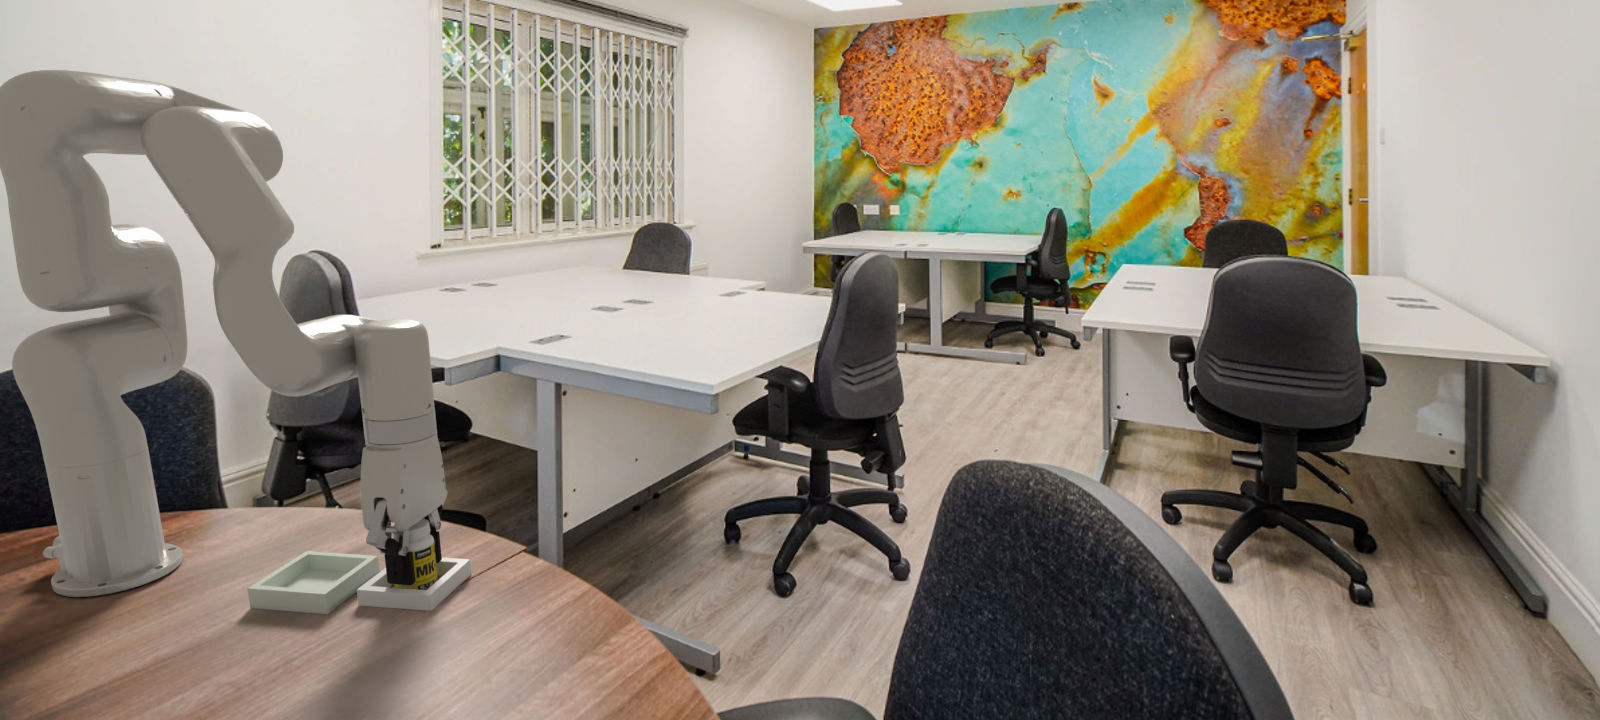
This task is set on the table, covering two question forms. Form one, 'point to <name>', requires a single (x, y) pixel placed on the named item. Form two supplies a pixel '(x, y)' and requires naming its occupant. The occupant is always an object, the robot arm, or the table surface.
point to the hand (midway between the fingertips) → (415, 570)
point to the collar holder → (384, 596)
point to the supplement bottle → (421, 556)
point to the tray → (313, 582)
